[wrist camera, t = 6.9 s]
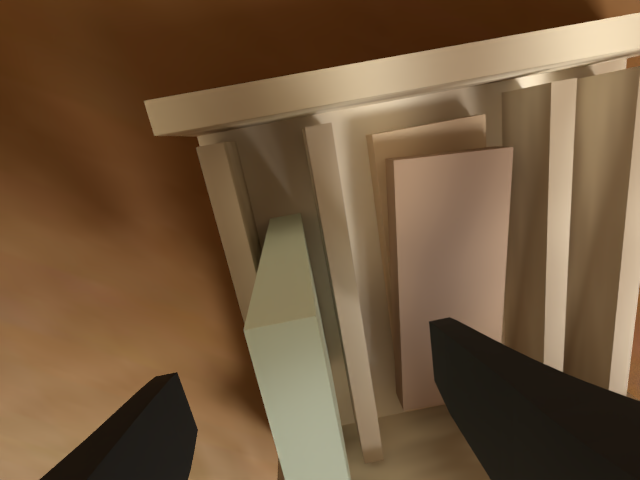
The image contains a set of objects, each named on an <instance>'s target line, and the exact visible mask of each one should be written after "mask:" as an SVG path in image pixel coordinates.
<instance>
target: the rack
mask: <svg viewBox="0 0 640 480" xmlns="http://www.w3.org/2000/svg"><path fill="white" fill-rule="evenodd" d="M639 55H640V13H636V14H630V15H624V16H619V17H613V18H608V19H602V20H596V21H591V22H585V23H579V24H574V25H568V26H562V27H557V28H551V29H546V30H540V31H534V32H529V33H523V34H517V35H512V36H506V37H501V38H495V39H489V40H484V41H478V42H472V43H467V44H461V45H455V46H450V47H444V48H439V49H433V50H427V51H422V52H416V53H410V54H405V55H399V56H394V57H388V58H382V59H377V60H371V61H365V62H360V63H354V64H348V65H343V66H337V67H332V68H326V69H320V70H315V71H309V72H303V73H298V74H292V75H286V76H281V77H275V78H270V79H264V80H258V81H253V82H247V83H241V84H236V85H230V86H225V87H219V88H213V89H208V90H202V91H196V92H191V93H185V94H179V95H174V96H168V97H163V98H157V99H151V100H146V101H144V104H145V107H146V110H147V114H148V117H149V120H150V123H151V127H152V130H153V133H154V136H197V138H198V142H199V146H200V147H196V150H197V154H198V158H199V161H200V165H201V169H202V172H203V176H204V179H205V183H206V187H207V190H208V194H209V198H210V201H211V205H212V209H213V212H214V216H215V219H216V223H217V227H218V230H219V234H220V238H221V241H222V245H223V248H224V252H225V256H226V259H227V263H228V267H229V270H230V274H231V278H232V281H233V285H234V288H235V292H236V296H237V299H238V303H239V307H240V310H241V314H242V317H243V321H244V325H245V321H246V317H247V313H248V309H249V305H250V300H251V296H252V292H253V288H254V284H255V279H256V275H257V271H258V267H259V263H260V258H261V254H262V250H263V246H264V242H265V237H266V233H267V229H268V225H269V221H270V219H271V218H276V217H281V216H286V215H292V214H297V213H301V218H302V223H303V228H304V233H305V238H306V243H307V248H308V253H309V259H310V264H311V269H312V274H313V279H314V284H315V289H316V294H317V299H318V304H319V309H320V315H321V320H322V325H323V330H324V335H325V340H326V345H327V350H328V355H329V360H330V366H331V371H332V377H333V382H334V388H335V393H336V399H337V404H338V410H339V415H340V421H341V426H342V432H343V437H344V443H345V448H346V454H347V459H348V465H349V470H350V476H351V480H491V479H490V478H489V476H488V475H487V473H486V471H485V470H484V468H483V467H482V465H481V463H480V462H479V460H478V459H477V457H476V455H475V454H474V452H473V451H472V449H471V447H470V446H469V444H468V443H467V441H466V439H465V438H464V436H463V434H462V433H461V431H460V430H459V428H458V426H457V425H456V423H455V421H454V420H453V418H452V417H451V415H450V413H449V411H448V409H447V407H446V405H445V404H443V405H439V406H434V407H429V408H424V409H420V410H415V411H410V412H406V410H404V411H403V408H402V406H401V404H400V401H399V399H398V396H397V394H396V380H395V358H394V350H393V342H392V334H391V326H390V319H389V311H388V303H387V295H386V287H385V280H384V272H383V264H382V256H381V248H380V241H379V233H378V225H377V217H376V209H375V202H374V194H373V186H372V178H371V170H370V163H369V155H368V147H367V139H366V135H369V134H374V133H379V132H385V131H390V130H396V129H401V128H407V127H412V126H417V125H423V124H428V123H434V122H439V121H444V120H450V119H455V118H461V117H466V116H472V115H480V114H486V147H493V146H504V147H513V163H512V179H511V195H510V211H509V228H508V244H507V260H506V276H505V292H504V308H503V324H502V341H501V343H502V344H504V345H506V346H508V347H510V348H512V349H514V350H516V351H518V352H520V353H522V354H524V355H526V356H528V357H530V358H532V359H534V360H537V361H539V362H541V363H543V364H546V365H548V366H550V367H552V368H555V369H557V370H559V371H561V372H564V373H566V374H568V375H571V376H573V377H576V378H578V379H581V380H583V381H586V382H589V383H591V384H594V385H597V386H599V387H602V388H605V389H607V390H610V391H613V392H615V393H618V394H621V395H624V396H627V397H630V398H632V399H635V400H638V399H636V398H635V397H634V396H632V395H631V394H630V393H628V392H627V386H628V377H629V369H630V360H631V352H632V343H633V335H634V327H635V318H636V310H637V301H638V293H639V284H640V66H638V67H633V68H628V69H626V61H627V58H630V57H634V56H639ZM638 401H639V400H638ZM278 480H285V478H284V475H283V471H282V467H281V464H280V460H279V457H278Z"/></svg>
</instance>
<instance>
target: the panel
mask: <svg viewBox="0 0 640 480" xmlns="http://www.w3.org/2000/svg"><path fill="white" fill-rule="evenodd" d="M243 331H244V334H245V338H246V342H247V345H248V349H249V352H250V356H251V360H252V363H253V367H254V370H255V374H256V378H257V381H258V385H259V388H260V392H261V396H262V399H263V403H264V406H265V410H266V414H267V417H268V421H269V424H270V428H271V432H272V435H273V439H274V442H275V446H276V449H277V453H278V457H279V460H280V464H281V467H282V471H283V475H284V478H285V480H351V476H350V470H349V465H348V459H347V454H346V448H345V443H344V437H343V432H342V426H341V421H340V415H339V410H338V404H337V399H336V393H335V388H334V382H333V377H332V371H331V366H330V360H329V355H328V350H327V345H326V340H325V335H324V330H323V325H322V320H321V315H320V309H319V304H318V299H317V294H316V289H315V284H314V279H313V274H312V269H311V264H310V259H309V253H308V248H307V243H306V238H305V233H304V228H303V223H302V218H301V213H297V214H292V215H286V216H281V217H276V218H271V219H270V221H269V225H268V229H267V233H266V237H265V242H264V246H263V250H262V254H261V258H260V263H259V267H258V271H257V275H256V279H255V284H254V288H253V292H252V296H251V300H250V305H249V309H248V313H247V317H246V321H245V326H244V330H243Z"/></svg>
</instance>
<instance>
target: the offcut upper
mask: <svg viewBox="0 0 640 480" xmlns="http://www.w3.org/2000/svg"><path fill="white" fill-rule="evenodd" d="M385 163H386V184H387V206H388V228H389V250H390V271H391V293H392V315H393V337H394V358H395V380H396V394H397V396H398V399H399V401H400V404H401V406H402V408H403V411H404V410H411V409H417V408H424V407H430V406H437V405H443V404H445V403H444V401H443V399H442V396H441V394H440V392H439V390H438V388H437V385H436V383H435V381H434V372H433V361H432V350H431V339H430V328H429V321H433V320H438V319H443V318H448V317H451V318H453V319H455V320H457V321H459V322H461V323H463V324H465V325H467V326H469V327H471V328H473V329H475V330H476V331H478V332H480V333H482V334H484V335H486V336H488V337H490V338H492V339H494V340H496V341H498V342H500V343H501V341H502V324H503V308H504V292H505V276H506V260H507V244H508V228H509V211H510V195H511V179H512V163H513V147H504V146H493V147H484V148H475V149H466V150H458V151H449V152H440V153H431V154H422V155H414V156H405V157H396V158H387V159H385Z"/></svg>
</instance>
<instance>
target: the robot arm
mask: <svg viewBox="0 0 640 480" xmlns="http://www.w3.org/2000/svg"><path fill="white" fill-rule="evenodd" d="M429 328H430V339H431V350H432V361H433V372H434V381H435V383H436V385H437V388H438V390H439V392H440V394H441V396H442V399H443V401H444V403H445V405H446V407H447V409H448V411H449V413H450V415H451V417H452V418H453V420H454V421H455V423H456V425H457V426H458V428H459V430H460V431H461V433H462V434H463V436H464V438H465V439H466V441H467V443H468V444H469V446H470V447H471V449H472V451H473V452H474V454H475V455H476V457H477V459H478V460H479V462H480V463H481V465H482V467H483V468H484V470H485V471H486V473H487V475H488V476H489V478H490V479H491V480H640V401H638V400H635V399H632V398H630V397H627V396H624V395H621V394H618V393H615V392H613V391H610V390H607V389H605V388H602V387H599V386H597V385H594V384H591V383H589V382H586V381H583V380H581V379H578V378H576V377H573V376H571V375H568V374H566V373H564V372H561V371H559V370H557V369H555V368H552V367H550V366H548V365H546V364H543V363H541V362H539V361H537V360H534V359H532V358H530V357H528V356H526V355H524V354H522V353H520V352H518V351H516V350H514V349H512V348H510V347H508V346H506V345H504V344H502V343H500V342H498V341H496V340H494V339H492V338H490V337H488V336H486V335H484V334H482V333H480V332H478V331H476V330H475V329H473V328H471V327H469V326H467V325H465V324H463V323H461V322H459V321H457V320H455V319H453V318H451V317H448V318H443V319H438V320H433V321H429ZM197 431H198V429H197V426H196V423H195V421H194V418H193V415H192V412H191V410H190V407H189V404H188V401H187V398H186V396H185V393H184V390H183V387H182V384H181V382H180V379H179V376H178V373H177V372H176V373H171V374H166V375H161V376H156V377H154V378H153V379H152V380H151V381H149V382H148V383H147V384H146V385H145V386H144V387H142V388H141V389H140V390H139V391H138V392H137V393H136V394H135V395H133V396H132V397H131V398H130V399H129V400H128V401H127V402H126V403H125V404H124V405H123V406H122V407H120V408H119V409H118V410H117V411H116V412H115V413H114V414H113V415H112V416H111V417H110V418H109V419H107V420H106V421H105V422H104V423H103V424H102V425H101V426H100V427H99V428H98V429H97V430H96V431H94V432H93V433H92V434H91V435H90V436H89V437H88V438H87V439H86V440H85V441H83V442H82V443H81V444H80V445H79V446H78V447H76V448H75V449H74V450H73V451H72V452H71V453H70V454H68V455H67V456H66V457H65V458H64V459H63V460H62V461H60V462H59V463H58V464H57V465H56V466H55V467H54V468H52V469H51V470H50V471H49V472H48V473H47V474H45V475H44V476H43V477H42V478H41V479H40V480H188V477H189V473H190V470H191V465H192V460H193V455H194V449H195V443H196V437H197Z"/></svg>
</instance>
